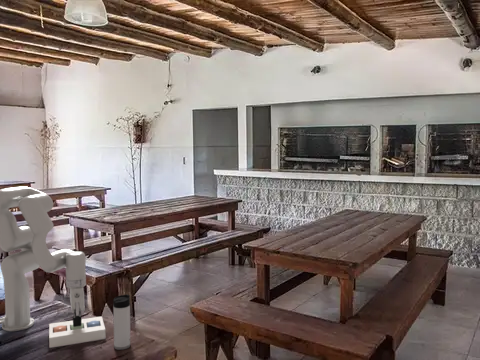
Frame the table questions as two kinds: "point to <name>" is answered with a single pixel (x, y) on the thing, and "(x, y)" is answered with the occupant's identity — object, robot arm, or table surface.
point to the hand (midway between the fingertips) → (77, 325)
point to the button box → (76, 333)
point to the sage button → (76, 327)
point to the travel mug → (121, 322)
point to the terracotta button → (59, 329)
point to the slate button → (93, 323)
